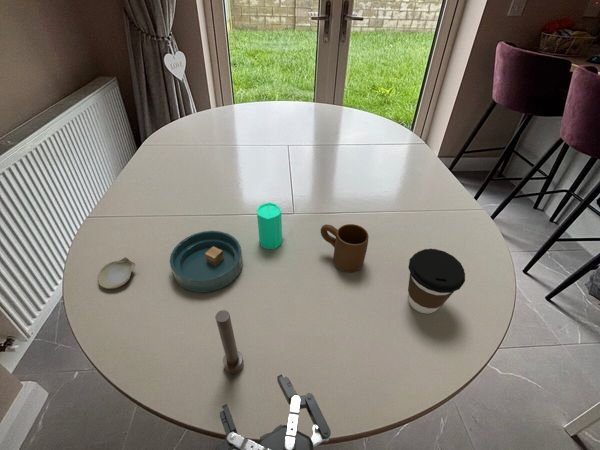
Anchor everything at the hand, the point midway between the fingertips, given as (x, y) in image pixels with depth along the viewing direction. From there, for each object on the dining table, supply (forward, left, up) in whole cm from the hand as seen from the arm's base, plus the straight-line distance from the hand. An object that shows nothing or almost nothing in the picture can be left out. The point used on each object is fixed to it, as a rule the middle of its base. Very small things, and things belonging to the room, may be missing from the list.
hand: (252, 391), depth 48 cm
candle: (+27, +34, -11) cm, 44 cm away
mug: (+37, +18, -11) cm, 42 cm away
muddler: (+2, +11, -11) cm, 15 cm away
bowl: (+10, +36, -11) cm, 39 cm away
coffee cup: (+42, -3, -11) cm, 43 cm away
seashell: (-8, +46, -11) cm, 48 cm away
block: (+12, +36, -10) cm, 39 cm away
